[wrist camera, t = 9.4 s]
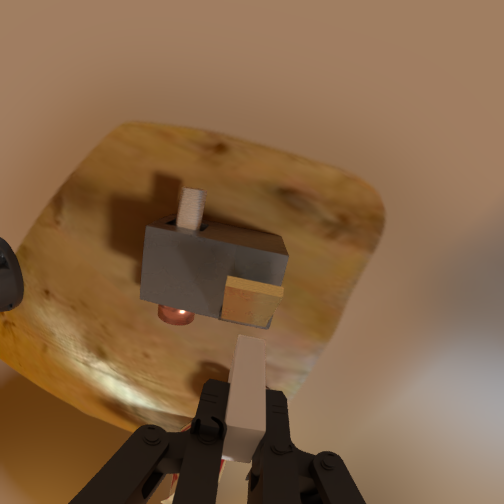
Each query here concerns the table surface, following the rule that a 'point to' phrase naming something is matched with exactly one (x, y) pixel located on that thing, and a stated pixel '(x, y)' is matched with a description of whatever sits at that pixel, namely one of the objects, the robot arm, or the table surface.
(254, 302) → the tan rectangular plate
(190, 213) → the pin
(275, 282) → the block
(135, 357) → the table surface
